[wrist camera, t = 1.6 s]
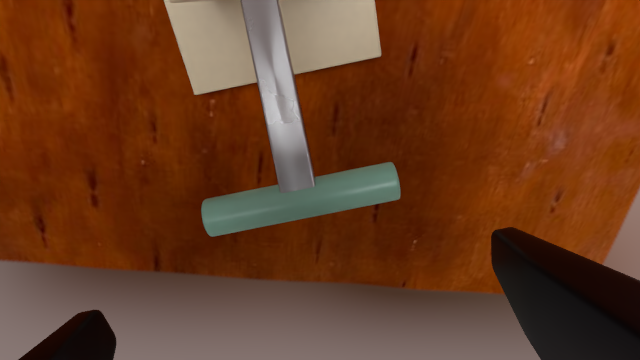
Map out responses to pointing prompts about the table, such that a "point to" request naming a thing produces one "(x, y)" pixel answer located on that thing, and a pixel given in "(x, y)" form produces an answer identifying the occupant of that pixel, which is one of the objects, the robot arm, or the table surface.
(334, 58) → the toaster bracket
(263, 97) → the lever
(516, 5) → the table surface
